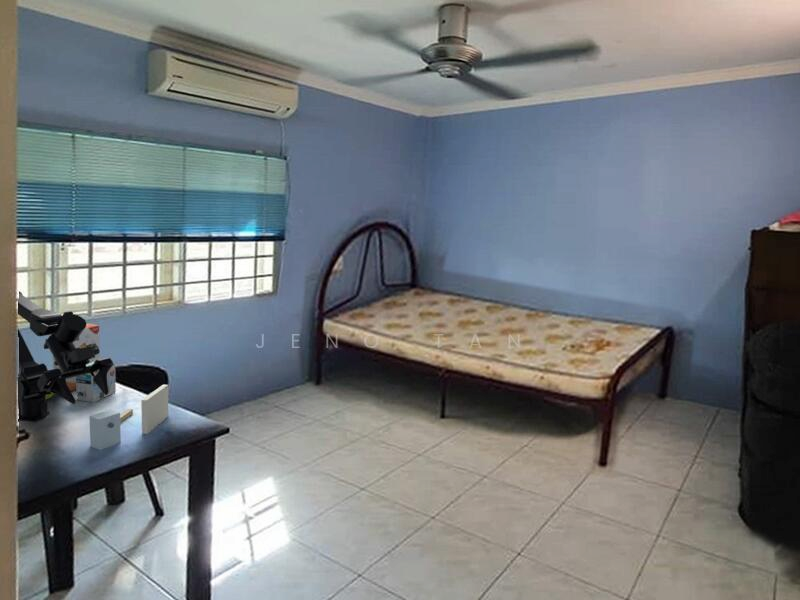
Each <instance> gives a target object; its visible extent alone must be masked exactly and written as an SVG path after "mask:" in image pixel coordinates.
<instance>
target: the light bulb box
mask: <svg viewBox="0 0 800 600" xmlns="http://www.w3.org/2000/svg"><path fill="white" fill-rule="evenodd" d="M113 363H114V365H113V366H112V367H111V369H110V370H109V371H108V373H107V385H108V394H107V395H105V394H104V393H103V392H102V391H101V389H100V388H99V387H98V385H97V384H96V383H95V382H94V380H93V378H94V377H93V376H92V375H91V374H90V373H88V374H84V375H80V376H76V400H78V401H84V402H91V403H95V402H97V401H100V400H103V399H104V397H105V398H106V397H109V396H111V394H112V395H113V393H114V394H116V393H117V392H116V391H117V388H116V387H117V386H116V362H114V361H113ZM93 364H94V362H92V363H89V364H86V367H87V366H92V365H93ZM115 392H116V393H115Z"/></svg>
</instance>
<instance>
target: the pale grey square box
mask: <svg viewBox="0 0 800 600" xmlns="http://www.w3.org/2000/svg"><path fill="white" fill-rule="evenodd" d="M120 414H121V412H119V411H116V410H113V409H107V410H105V411H101V412H98V413H94V414H91V415H89V440H90V442H89V443H90V447H91V448H94V449H96V450H99V451H101V450H104V449H107V448H109V447H112V446H115V445H117V444H120V443H121V441H122V440H121V439H122V437H121V433H122V432H121V423H120Z"/></svg>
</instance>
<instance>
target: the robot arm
mask: <svg viewBox="0 0 800 600" xmlns="http://www.w3.org/2000/svg"><path fill="white" fill-rule="evenodd" d="M17 315H18V316H20V317H21V318H23V319H24V320H25V321H27V322H28V323H29V329H30V330H31V332H32V333H34V334H35V335H36V336H37V337H45V336H48V337H47V338H46V339H45V342H44V344H43V349H44V350H49V351H50V353H51V354H52V357H53V356H54V358H55V362H54V364H55V366H57V365H59V367H60V369H61V370H60V369H53V368H52V369H49V370H48V367H47V365H46V364H45V363H38V362H36V361H35V359H34V357H33V355H32V353H31V351H30V348H29V347H28V345H27V343H26V341H25V339H24V337H23V335H22V333H21V330H20V329H19V330H18V337H19V374H18V376H19V377H18V401H17V410H18V409H19V414H18V416H19V420H18V421H33V422H34V421H39V420H41V419H42V418H44V417H45V416H48V415H49V414H50V411H48V400H47V399H45V395H49V394H51V392H52V393H54V394H53V395H56V396H58V397H60V398H62V399H64V400H65V401H67V402H69V403H71V404H72V405H75V404H77V403H76V402H77V401H76V398H75V396H74V395H73V393H72V391H70V389H69V388H68V386H67V384H66V379H68V378H72V377H76V376H80V375H84V374H88V373H90V374H91V375H92V376H93V377H94V378H93V380H94V382H95V383H96V384H97V385H98V387H99V388H100V389H101V391H102V392H103V393H104V394H105V395H107V394H108V385H107V373H108V371H109V370H110V369H111V367H112V366H113V365H114V363H113V362H114V361H113V359H112V358H110V357H103V358H100V359H98V360H96V361H95V362H94V364H93V365H92V366H87V367H86V364H88V363H89V362H90V361H89V359H91V358H95V355H97V354H99V352H100V351H101V350H100V347H99V348H98V346H97V345H96V343H92V344H89V345H87V347H85V348H76V347H75V345H74V344H73V342H74V341H76V340H77V339H78V337H79V336H80V335H81V333H82V332H83V330H84V329H85V328H86V325H87V324H88V323H87V322H86V319H85V318H83V317H82V316H81V315H79V314H76V313H75V314H74V313H73V311H64V312H63V314H61V313H59V312H56V311H54V310H48V309H44V308H42V307H40V306H39V305H38V304H36V303H34V302H33V301H32V300H31V299H29V298H27V297H26V296H24V295H23V293H22V292H21V291H20V290H19V300H18V314H17ZM100 353H101V352H100ZM61 371H62V372H61ZM21 419H22V420H21Z"/></svg>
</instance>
